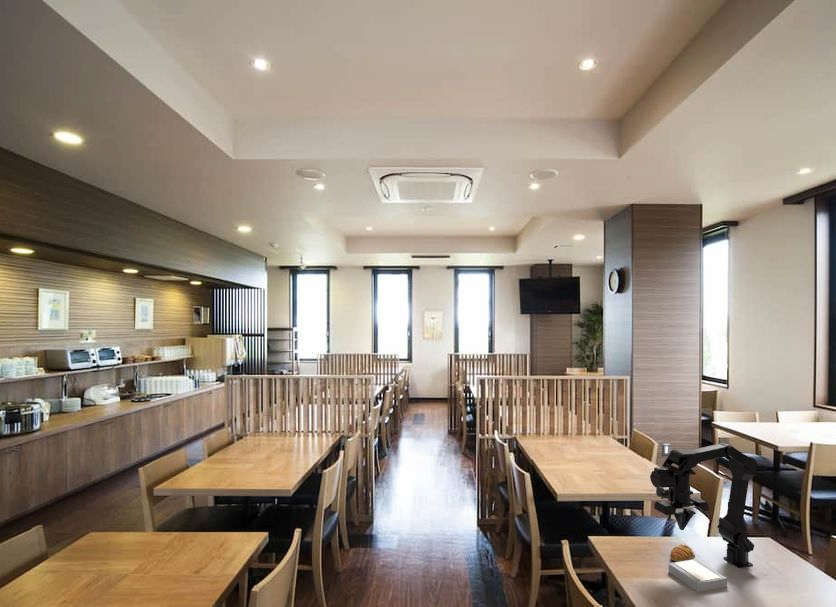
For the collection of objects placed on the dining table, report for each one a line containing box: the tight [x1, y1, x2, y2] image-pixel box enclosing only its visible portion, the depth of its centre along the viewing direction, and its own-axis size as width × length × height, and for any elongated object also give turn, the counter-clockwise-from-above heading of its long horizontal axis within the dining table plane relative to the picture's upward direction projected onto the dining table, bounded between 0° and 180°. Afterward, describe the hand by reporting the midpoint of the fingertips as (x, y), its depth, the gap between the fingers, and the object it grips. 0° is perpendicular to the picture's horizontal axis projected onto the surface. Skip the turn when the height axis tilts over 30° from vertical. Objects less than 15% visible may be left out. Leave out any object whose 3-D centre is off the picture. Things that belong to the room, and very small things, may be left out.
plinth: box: [668, 558, 728, 593], centre depth 151 cm, size 12×12×3 cm
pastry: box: [669, 544, 696, 562], centre depth 163 cm, size 9×7×4 cm
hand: (681, 529), depth 159 cm, fingers closed
